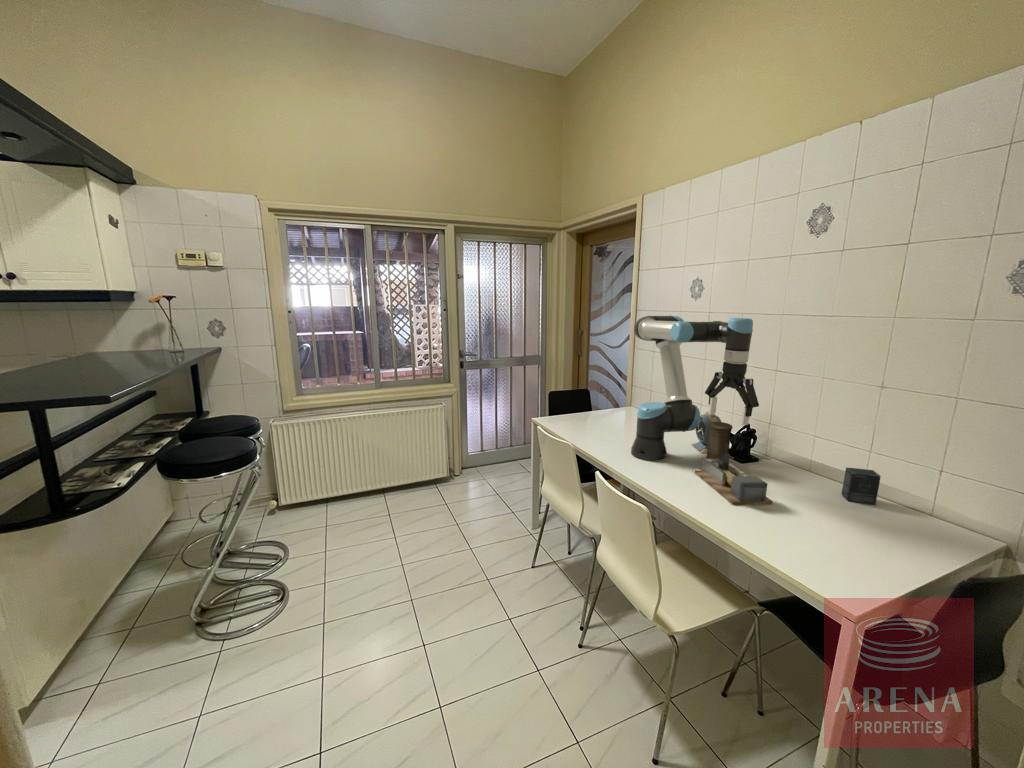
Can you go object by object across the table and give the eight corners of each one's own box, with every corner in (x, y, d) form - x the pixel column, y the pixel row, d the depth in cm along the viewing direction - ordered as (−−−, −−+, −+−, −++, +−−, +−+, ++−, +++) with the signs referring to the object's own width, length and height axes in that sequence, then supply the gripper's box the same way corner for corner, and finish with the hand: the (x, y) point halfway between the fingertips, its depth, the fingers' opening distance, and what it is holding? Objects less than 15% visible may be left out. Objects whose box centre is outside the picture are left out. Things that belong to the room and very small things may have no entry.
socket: (730, 493, 141) (732, 476, 140) (753, 493, 141) (756, 476, 140) (740, 501, 135) (742, 483, 134) (765, 501, 135) (767, 483, 134)
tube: (708, 471, 159) (711, 447, 157) (718, 471, 159) (721, 447, 157) (729, 487, 145) (732, 461, 143) (739, 487, 146) (743, 461, 144)
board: (694, 472, 161) (694, 470, 160) (728, 472, 161) (728, 470, 161) (732, 504, 135) (732, 502, 135) (772, 504, 136) (772, 501, 136)
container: (706, 468, 165) (710, 426, 162) (703, 460, 174) (707, 420, 170) (730, 471, 162) (735, 428, 159) (726, 463, 171) (731, 422, 167)
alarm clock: (690, 443, 194) (693, 408, 191) (710, 444, 194) (714, 408, 190) (702, 454, 180) (706, 416, 177) (724, 455, 180) (729, 417, 176)
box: (867, 498, 140) (873, 469, 138) (875, 505, 135) (881, 476, 133) (840, 494, 143) (845, 466, 141) (847, 501, 138) (852, 472, 136)
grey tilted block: (702, 470, 160) (703, 458, 159) (721, 470, 161) (722, 458, 160) (721, 486, 147) (723, 473, 146) (742, 485, 147) (744, 472, 146)
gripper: (699, 357, 152) (692, 411, 157) (761, 369, 129) (752, 431, 134) (713, 356, 155) (706, 409, 159) (777, 367, 132) (767, 428, 137)
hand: (727, 419), depth 147 cm, fingers open, 13 cm apart
